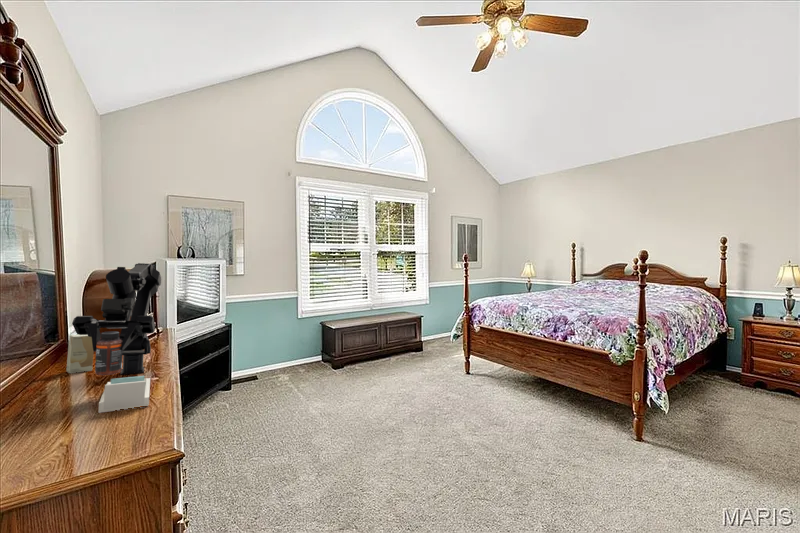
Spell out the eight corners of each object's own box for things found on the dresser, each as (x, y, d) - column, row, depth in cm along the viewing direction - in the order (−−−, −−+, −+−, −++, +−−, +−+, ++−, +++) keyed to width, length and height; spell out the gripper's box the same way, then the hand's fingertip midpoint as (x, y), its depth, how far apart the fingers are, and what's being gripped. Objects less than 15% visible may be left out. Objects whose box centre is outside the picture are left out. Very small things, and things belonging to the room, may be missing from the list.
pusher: (110, 395, 104) (111, 378, 105) (143, 391, 109) (144, 375, 109) (109, 398, 102) (110, 381, 102) (143, 394, 106) (144, 378, 106)
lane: (107, 390, 111) (108, 367, 111) (149, 385, 116) (151, 364, 117) (98, 412, 94) (99, 386, 95) (148, 406, 100) (149, 381, 100)
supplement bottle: (126, 370, 109) (128, 330, 109) (113, 376, 104) (116, 334, 104) (103, 369, 109) (105, 330, 109) (89, 375, 103) (91, 333, 103)
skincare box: (69, 374, 125) (71, 336, 125) (65, 371, 128) (67, 335, 128) (93, 370, 130) (95, 334, 130) (89, 368, 133) (91, 333, 133)
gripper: (76, 287, 106) (56, 334, 96) (154, 288, 113) (143, 332, 103) (86, 311, 113) (68, 357, 103) (159, 311, 121) (149, 354, 110)
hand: (108, 350), depth 105 cm, fingers closed on supplement bottle, 6 cm apart
